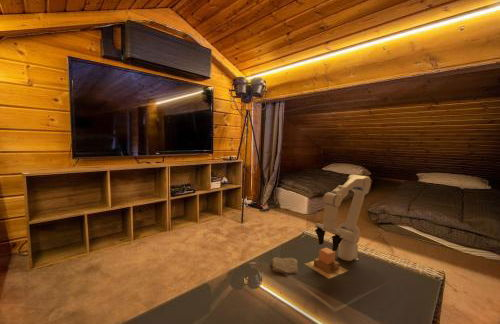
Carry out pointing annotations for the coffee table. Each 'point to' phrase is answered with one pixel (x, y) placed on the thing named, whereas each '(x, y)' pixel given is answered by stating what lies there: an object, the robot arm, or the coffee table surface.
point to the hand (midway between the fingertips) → (327, 247)
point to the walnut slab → (326, 266)
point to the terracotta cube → (327, 255)
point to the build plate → (329, 275)
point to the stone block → (285, 265)
